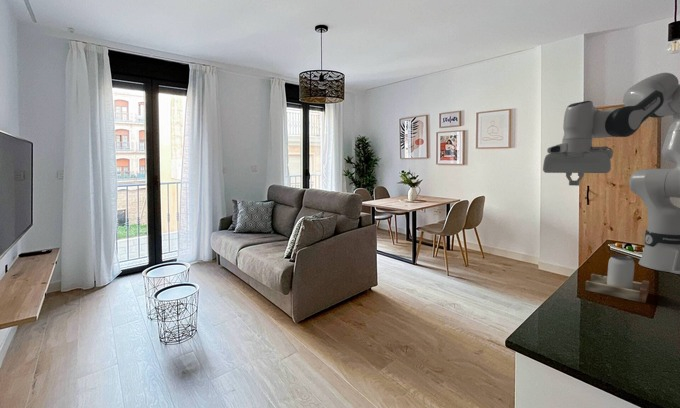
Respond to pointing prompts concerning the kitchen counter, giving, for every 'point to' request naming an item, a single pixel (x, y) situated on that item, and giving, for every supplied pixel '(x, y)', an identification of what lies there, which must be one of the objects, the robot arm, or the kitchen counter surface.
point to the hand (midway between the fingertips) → (574, 185)
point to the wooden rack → (618, 288)
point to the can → (621, 271)
